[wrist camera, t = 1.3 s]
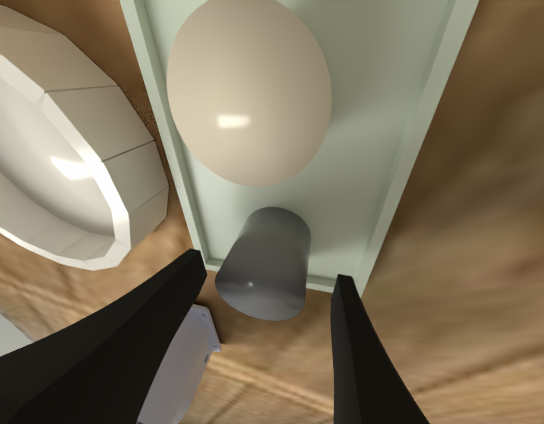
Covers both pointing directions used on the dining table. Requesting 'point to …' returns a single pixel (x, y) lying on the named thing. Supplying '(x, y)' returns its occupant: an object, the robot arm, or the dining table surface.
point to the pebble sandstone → (249, 90)
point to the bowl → (71, 153)
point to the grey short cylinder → (267, 266)
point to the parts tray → (341, 131)
